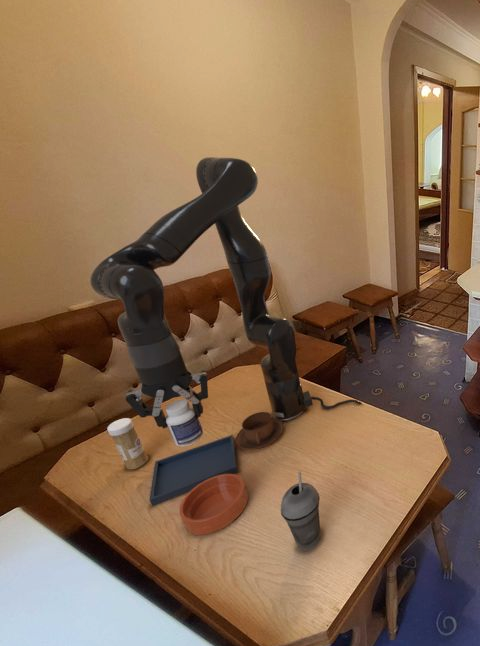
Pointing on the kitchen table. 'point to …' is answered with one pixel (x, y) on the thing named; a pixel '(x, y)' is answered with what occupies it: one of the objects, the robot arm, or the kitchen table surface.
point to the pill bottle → (183, 423)
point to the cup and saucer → (259, 431)
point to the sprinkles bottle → (128, 443)
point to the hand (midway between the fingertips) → (182, 420)
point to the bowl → (213, 504)
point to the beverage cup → (302, 514)
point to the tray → (192, 469)
